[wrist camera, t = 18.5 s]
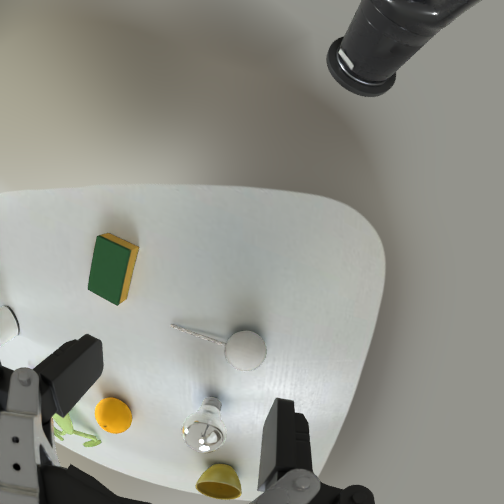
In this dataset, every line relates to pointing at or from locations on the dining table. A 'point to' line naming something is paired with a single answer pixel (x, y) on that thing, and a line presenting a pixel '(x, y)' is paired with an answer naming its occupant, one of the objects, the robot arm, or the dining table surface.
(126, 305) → the dining table surface
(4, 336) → the mug
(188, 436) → the light bulb
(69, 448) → the dining table surface
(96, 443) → the figurine
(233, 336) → the lollipop
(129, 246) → the sponge
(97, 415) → the orange
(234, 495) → the flower pot
